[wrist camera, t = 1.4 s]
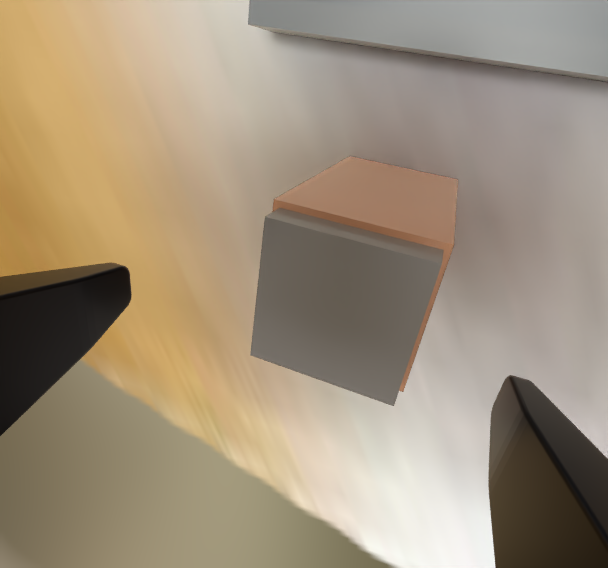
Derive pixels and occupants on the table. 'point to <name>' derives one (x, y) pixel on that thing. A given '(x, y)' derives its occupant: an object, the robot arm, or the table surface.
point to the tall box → (353, 274)
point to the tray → (457, 29)
